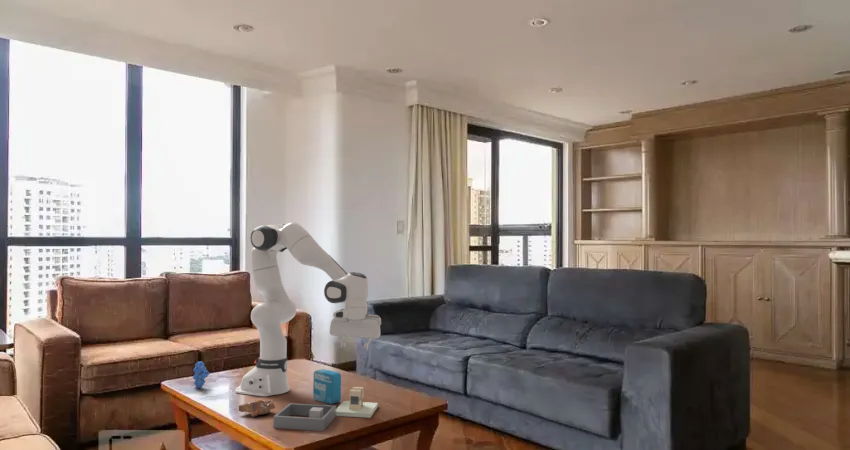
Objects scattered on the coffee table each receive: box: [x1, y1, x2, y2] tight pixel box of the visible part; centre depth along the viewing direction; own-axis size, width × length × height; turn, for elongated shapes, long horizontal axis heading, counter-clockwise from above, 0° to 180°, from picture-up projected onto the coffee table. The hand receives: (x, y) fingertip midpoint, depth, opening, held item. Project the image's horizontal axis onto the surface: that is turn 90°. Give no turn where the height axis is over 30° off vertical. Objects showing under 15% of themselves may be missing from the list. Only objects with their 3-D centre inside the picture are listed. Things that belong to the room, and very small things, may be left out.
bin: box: [272, 402, 337, 432], centre depth 211 cm, size 18×16×4 cm
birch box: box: [348, 386, 364, 410], centre depth 225 cm, size 6×4×7 cm, turn 173°
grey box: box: [308, 407, 323, 418], centre depth 211 cm, size 4×4×5 cm
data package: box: [312, 368, 342, 405], centre depth 238 cm, size 12×4×12 cm, turn 51°
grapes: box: [192, 360, 211, 389], centre depth 253 cm, size 12×7×12 cm, turn 37°
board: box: [336, 400, 379, 419], centre depth 225 cm, size 14×14×2 cm
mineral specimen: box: [238, 399, 276, 418], centre depth 219 cm, size 12×8×7 cm
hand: (354, 348), depth 233 cm, fingers open, 8 cm apart
